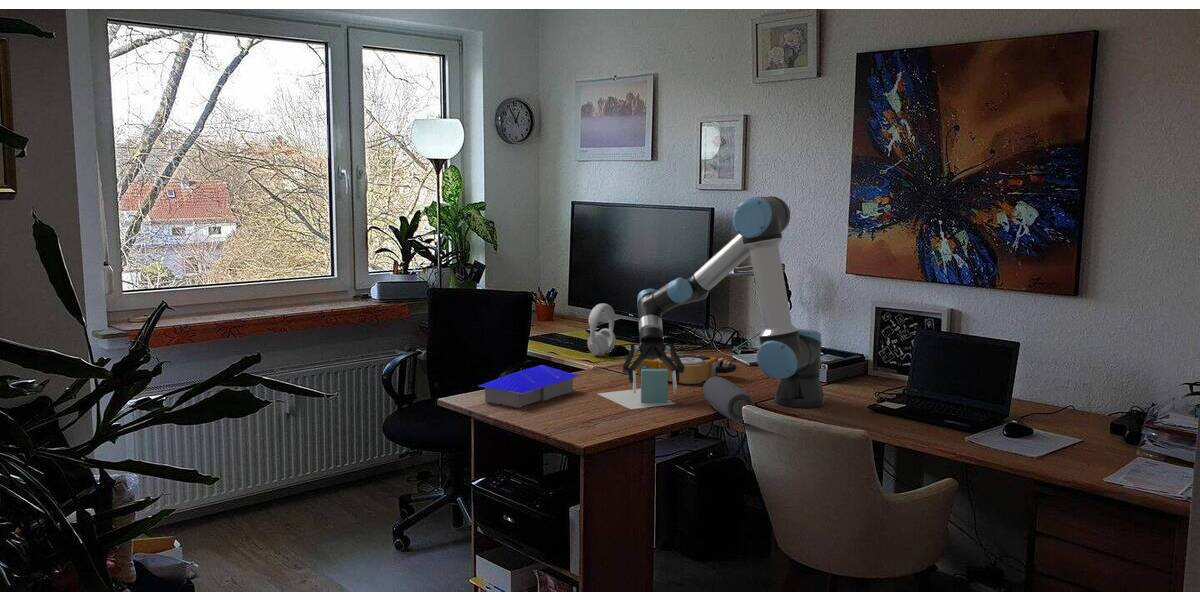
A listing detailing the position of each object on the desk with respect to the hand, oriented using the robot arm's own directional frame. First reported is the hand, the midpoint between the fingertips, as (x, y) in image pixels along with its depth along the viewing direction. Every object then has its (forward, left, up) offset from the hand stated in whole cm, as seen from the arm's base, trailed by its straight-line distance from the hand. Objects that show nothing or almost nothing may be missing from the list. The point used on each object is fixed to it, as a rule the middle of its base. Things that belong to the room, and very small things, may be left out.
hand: (655, 391), depth 298 cm
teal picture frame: (+2, -1, -4) cm, 5 cm away
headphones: (+77, -22, -5) cm, 81 cm away
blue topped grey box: (+27, +30, -5) cm, 41 cm away
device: (+28, -30, -5) cm, 41 cm away
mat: (+8, +2, -5) cm, 10 cm away
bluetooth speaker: (-20, -13, -5) cm, 24 cm away
